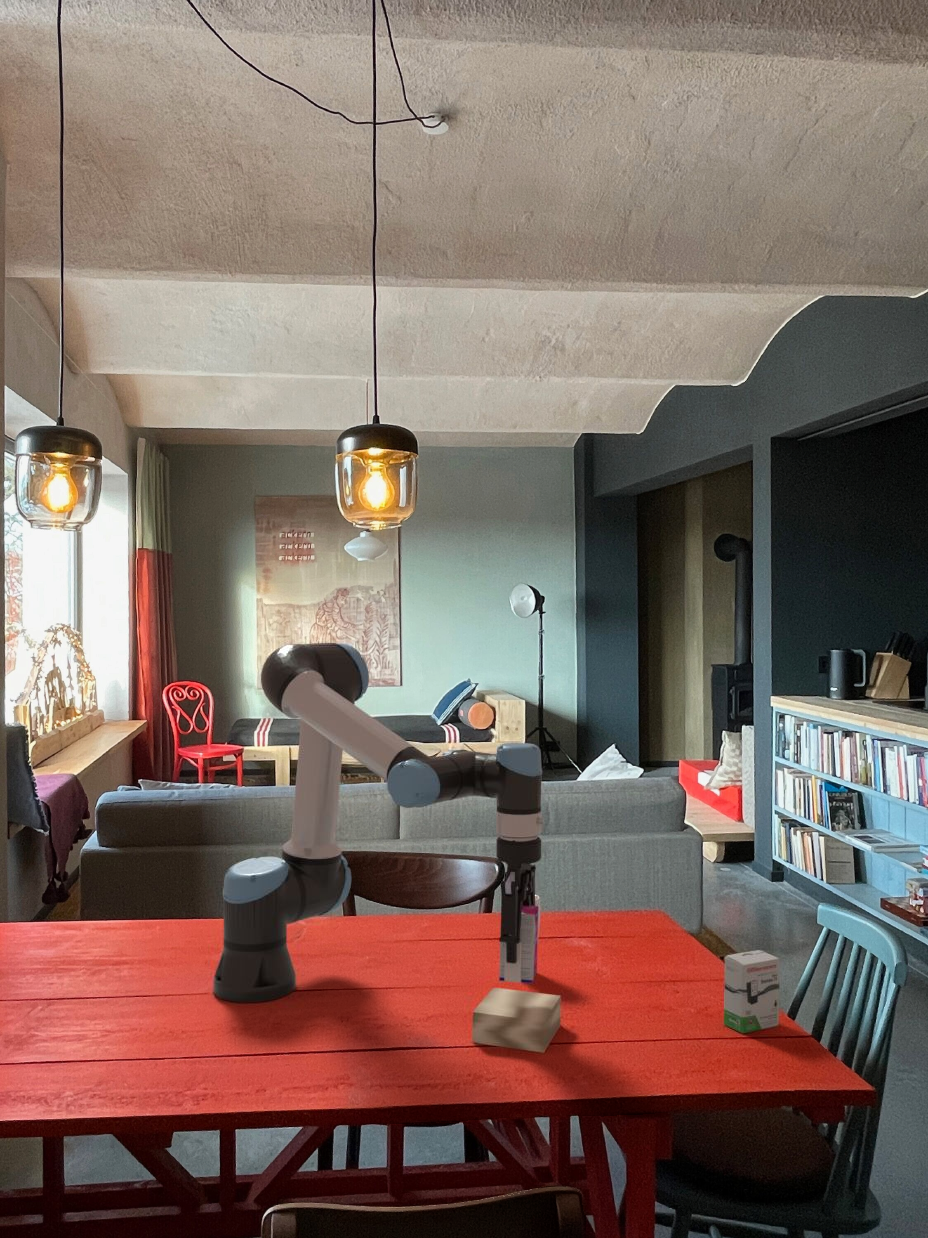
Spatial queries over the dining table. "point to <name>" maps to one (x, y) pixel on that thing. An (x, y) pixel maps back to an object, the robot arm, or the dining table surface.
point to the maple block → (517, 1019)
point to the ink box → (751, 991)
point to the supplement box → (525, 945)
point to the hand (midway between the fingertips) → (518, 974)
